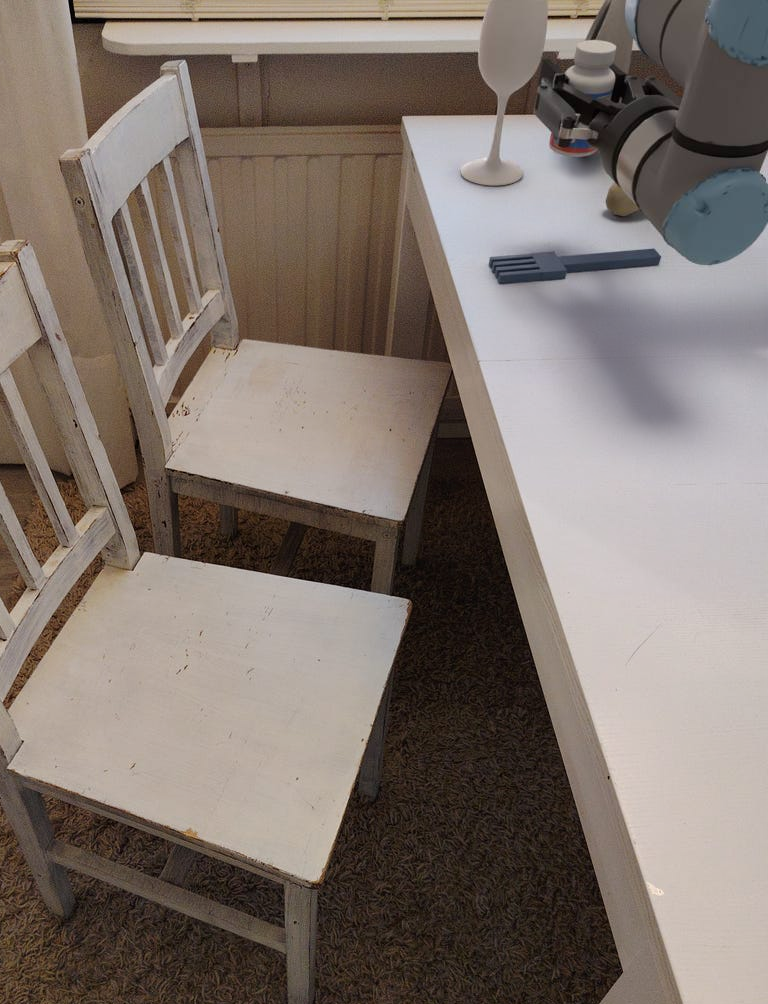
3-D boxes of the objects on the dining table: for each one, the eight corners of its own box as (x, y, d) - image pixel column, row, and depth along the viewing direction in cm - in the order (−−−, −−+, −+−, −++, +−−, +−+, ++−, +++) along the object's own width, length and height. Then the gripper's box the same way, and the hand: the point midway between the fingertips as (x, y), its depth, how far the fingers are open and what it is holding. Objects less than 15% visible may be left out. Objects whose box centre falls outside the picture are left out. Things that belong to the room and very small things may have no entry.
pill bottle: (538, 149, 93) (558, 46, 85) (566, 135, 95) (588, 34, 87) (579, 162, 90) (603, 57, 82) (607, 148, 92) (633, 44, 85)
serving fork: (647, 251, 101) (650, 243, 100) (663, 270, 98) (666, 261, 97) (488, 264, 100) (489, 256, 99) (499, 284, 97) (500, 275, 96)
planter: (561, 126, 126) (593, -28, 112) (609, 129, 125) (648, -26, 110) (553, 175, 115) (587, 12, 101) (605, 179, 114) (648, 14, 99)
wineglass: (508, 157, 119) (539, -24, 103) (532, 182, 114) (568, -5, 98) (452, 164, 118) (473, -18, 102) (473, 189, 113) (499, 1, 97)
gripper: (549, 203, 79) (483, 115, 93) (733, 188, 80) (640, 103, 94) (567, 115, 73) (494, 36, 88) (766, 100, 74) (661, 24, 89)
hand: (570, 71), depth 91 cm, fingers closed on pill bottle, 5 cm apart
